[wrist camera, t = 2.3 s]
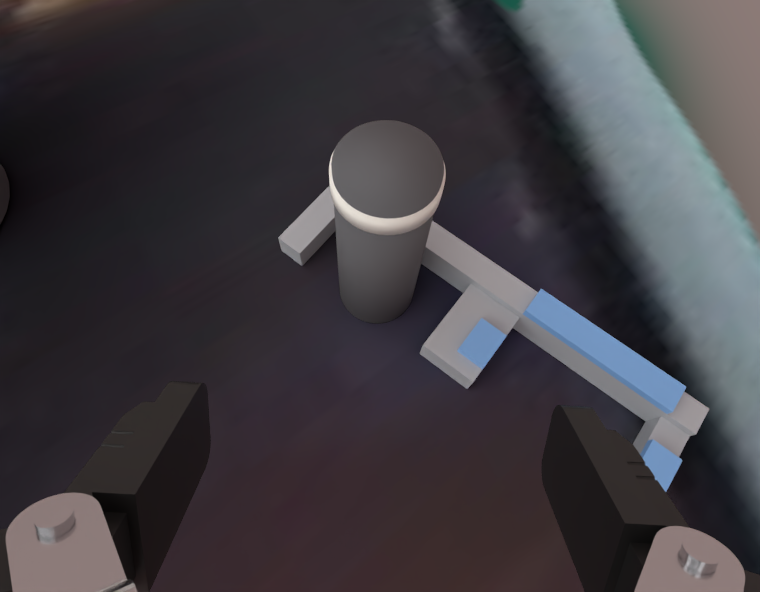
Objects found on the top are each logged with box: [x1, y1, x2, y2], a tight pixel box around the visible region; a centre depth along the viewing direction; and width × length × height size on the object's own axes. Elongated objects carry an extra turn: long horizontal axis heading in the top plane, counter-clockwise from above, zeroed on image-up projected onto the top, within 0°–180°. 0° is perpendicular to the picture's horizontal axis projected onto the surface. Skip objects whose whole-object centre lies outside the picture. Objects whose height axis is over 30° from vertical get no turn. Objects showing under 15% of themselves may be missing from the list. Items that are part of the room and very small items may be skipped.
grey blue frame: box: [278, 180, 709, 492], centre depth 27 cm, size 22×6×2 cm, turn 52°
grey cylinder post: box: [329, 120, 446, 323], centre depth 24 cm, size 4×4×11 cm
